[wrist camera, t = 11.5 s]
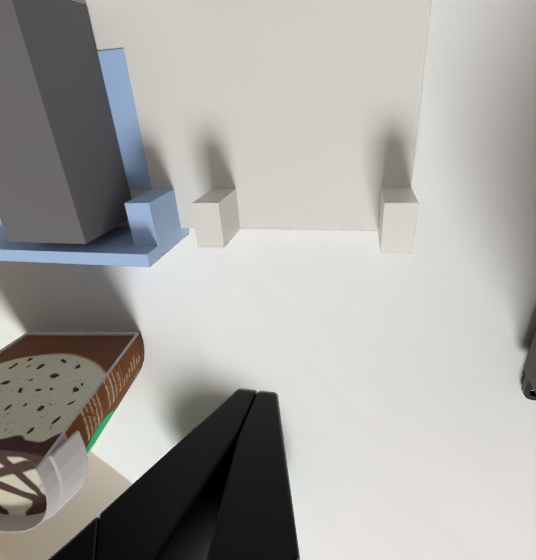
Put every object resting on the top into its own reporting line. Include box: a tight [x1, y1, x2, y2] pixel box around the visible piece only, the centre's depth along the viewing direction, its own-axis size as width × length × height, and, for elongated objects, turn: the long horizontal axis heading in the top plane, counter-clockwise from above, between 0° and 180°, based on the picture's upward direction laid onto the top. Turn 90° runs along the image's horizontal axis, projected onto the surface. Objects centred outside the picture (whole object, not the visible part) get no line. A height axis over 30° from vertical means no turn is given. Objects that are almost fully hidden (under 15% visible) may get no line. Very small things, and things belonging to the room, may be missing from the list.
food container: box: [0, 332, 144, 533], centre depth 22 cm, size 12×6×10 cm, turn 99°
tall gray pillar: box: [0, 0, 132, 244], centre depth 16 cm, size 4×9×4 cm, turn 4°
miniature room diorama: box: [0, 0, 432, 267], centre depth 15 cm, size 20×13×4 cm, turn 94°
